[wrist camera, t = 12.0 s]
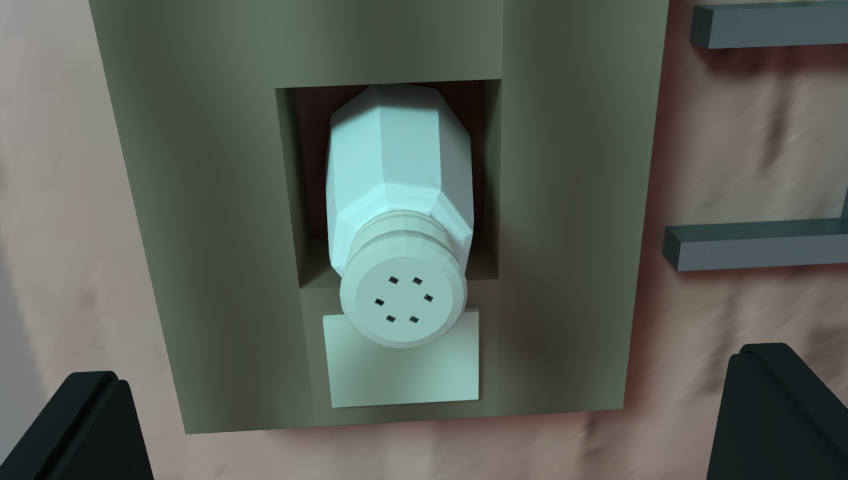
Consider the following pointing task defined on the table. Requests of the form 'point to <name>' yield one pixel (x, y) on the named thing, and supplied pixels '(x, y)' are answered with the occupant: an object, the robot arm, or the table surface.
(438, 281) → the salt shaker
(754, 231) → the u-shaped bracket
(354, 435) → the table surface
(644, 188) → the socket block
